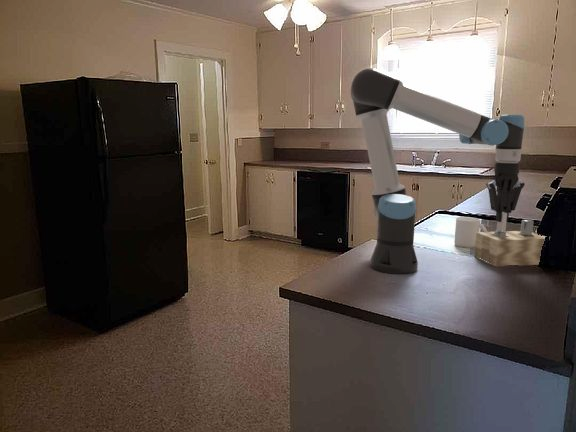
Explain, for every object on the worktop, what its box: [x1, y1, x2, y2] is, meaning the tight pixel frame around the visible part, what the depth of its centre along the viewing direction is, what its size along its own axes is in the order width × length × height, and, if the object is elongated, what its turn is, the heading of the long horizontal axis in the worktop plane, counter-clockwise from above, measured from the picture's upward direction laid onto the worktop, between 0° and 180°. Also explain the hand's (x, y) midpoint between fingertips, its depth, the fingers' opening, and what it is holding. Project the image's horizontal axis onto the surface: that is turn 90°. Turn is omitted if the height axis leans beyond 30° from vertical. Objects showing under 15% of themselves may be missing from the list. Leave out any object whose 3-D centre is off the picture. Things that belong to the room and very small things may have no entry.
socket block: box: [473, 230, 546, 267], centre depth 152 cm, size 20×12×9 cm, turn 99°
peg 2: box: [520, 219, 535, 237], centre depth 151 cm, size 4×4×9 cm
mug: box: [453, 216, 488, 249], centre depth 170 cm, size 9×12×11 cm
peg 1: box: [493, 229, 506, 237], centre depth 150 cm, size 4×4×9 cm
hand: (500, 230), depth 150 cm, fingers closed
